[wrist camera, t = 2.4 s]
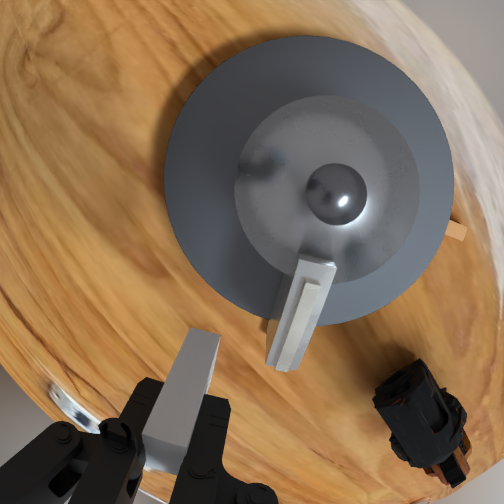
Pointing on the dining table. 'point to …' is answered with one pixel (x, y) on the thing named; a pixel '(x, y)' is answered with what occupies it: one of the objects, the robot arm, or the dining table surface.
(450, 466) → the tool
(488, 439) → the dining table surface
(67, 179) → the dining table surface
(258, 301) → the dial plate
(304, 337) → the dial
